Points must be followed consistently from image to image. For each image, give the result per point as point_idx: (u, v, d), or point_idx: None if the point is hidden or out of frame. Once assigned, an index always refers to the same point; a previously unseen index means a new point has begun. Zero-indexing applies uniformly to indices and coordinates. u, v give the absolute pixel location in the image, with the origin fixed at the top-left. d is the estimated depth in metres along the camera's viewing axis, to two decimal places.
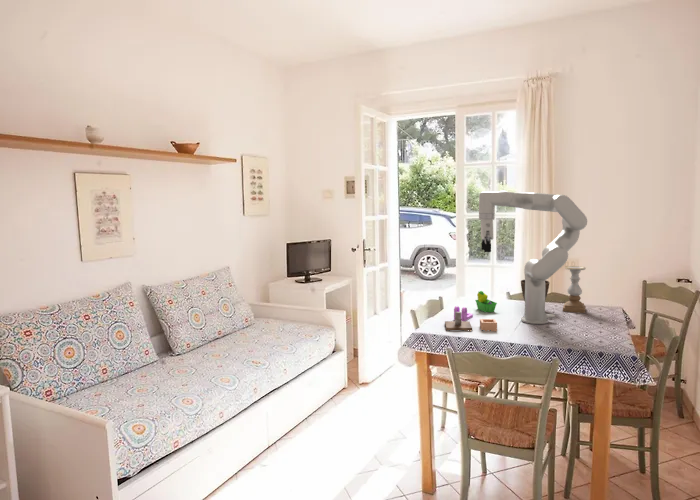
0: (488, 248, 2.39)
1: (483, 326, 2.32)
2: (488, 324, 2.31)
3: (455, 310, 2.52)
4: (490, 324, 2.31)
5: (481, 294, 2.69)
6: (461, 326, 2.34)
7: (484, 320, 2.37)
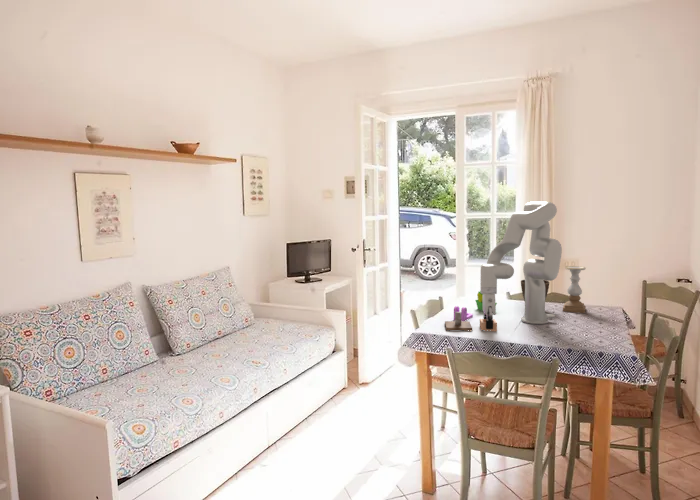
0: (490, 325, 2.30)
1: (483, 326, 2.32)
2: None
3: (455, 310, 2.52)
4: None
5: (481, 294, 2.69)
6: (461, 326, 2.34)
7: (484, 320, 2.37)
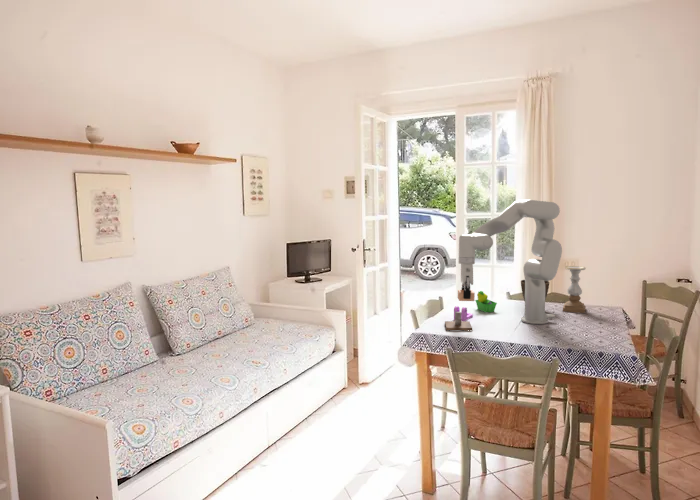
0: (467, 295, 2.31)
1: (461, 296, 2.32)
2: None
3: (455, 310, 2.52)
4: None
5: (481, 294, 2.69)
6: (461, 326, 2.34)
7: (462, 291, 2.38)
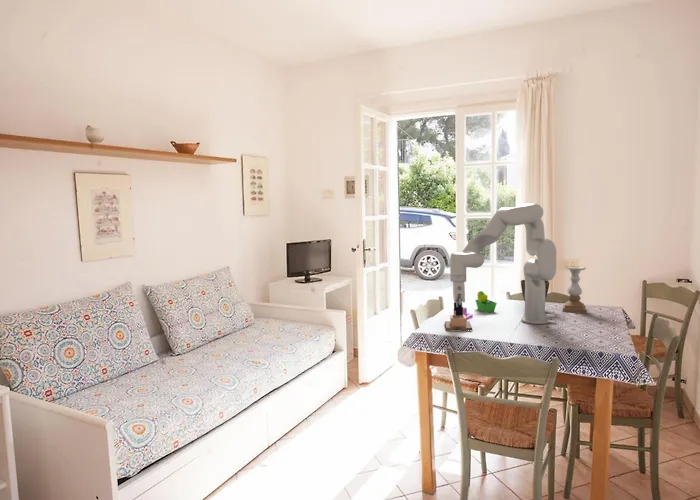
0: (460, 312, 2.32)
1: (453, 322, 2.35)
2: (457, 320, 2.35)
3: None
4: (459, 320, 2.35)
5: (481, 294, 2.69)
6: (461, 326, 2.34)
7: (454, 316, 2.41)
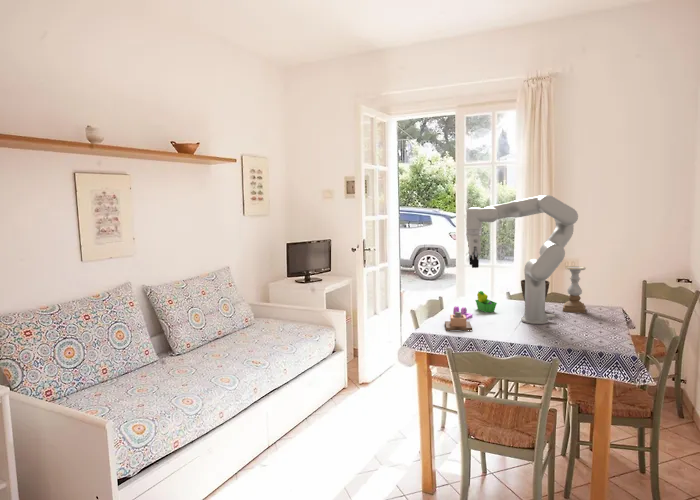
0: (476, 264, 2.41)
1: (453, 322, 2.35)
2: (457, 320, 2.35)
3: (454, 310, 2.52)
4: (459, 320, 2.35)
5: (481, 294, 2.69)
6: (461, 326, 2.34)
7: (454, 316, 2.41)
